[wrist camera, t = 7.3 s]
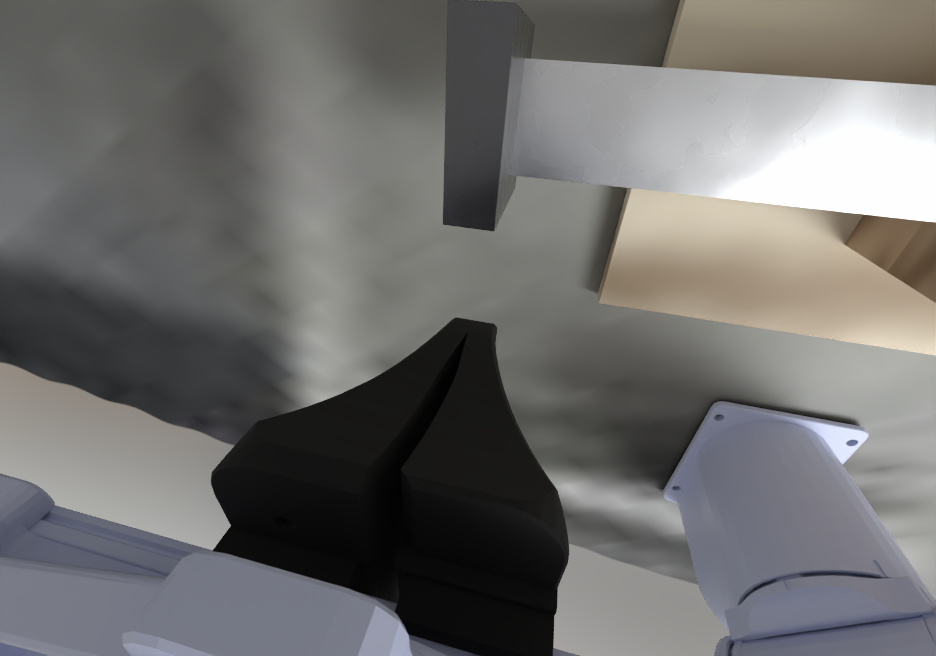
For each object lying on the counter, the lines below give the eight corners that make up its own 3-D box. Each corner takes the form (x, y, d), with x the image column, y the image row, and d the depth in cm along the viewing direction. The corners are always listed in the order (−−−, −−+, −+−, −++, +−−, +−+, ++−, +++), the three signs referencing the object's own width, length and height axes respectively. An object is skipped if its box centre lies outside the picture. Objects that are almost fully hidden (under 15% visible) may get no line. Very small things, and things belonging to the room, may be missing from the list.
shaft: (1072, 252, 12) (1316, 340, 8) (477, 183, 15) (442, 224, 11) (1259, 64, 10) (1760, 60, 6) (487, 22, 13) (448, 0, 8)
